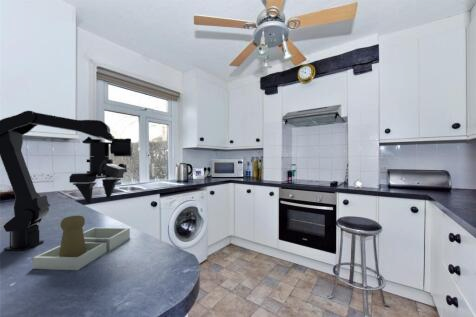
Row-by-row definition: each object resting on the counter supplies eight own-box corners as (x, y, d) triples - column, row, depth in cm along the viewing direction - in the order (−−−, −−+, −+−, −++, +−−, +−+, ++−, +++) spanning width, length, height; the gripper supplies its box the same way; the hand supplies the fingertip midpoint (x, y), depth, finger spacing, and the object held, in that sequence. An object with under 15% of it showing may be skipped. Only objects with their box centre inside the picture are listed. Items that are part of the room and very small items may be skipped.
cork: (70, 263, 52) (70, 220, 52) (52, 260, 53) (52, 218, 54) (92, 252, 58) (92, 214, 58) (75, 250, 59) (75, 213, 59)
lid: (32, 268, 51) (32, 257, 51) (68, 250, 61) (68, 241, 61) (77, 270, 50) (77, 258, 50) (106, 251, 60) (106, 242, 60)
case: (66, 250, 61) (66, 238, 61) (94, 237, 72) (94, 226, 72) (108, 251, 60) (108, 239, 60) (129, 237, 71) (129, 227, 71)
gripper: (101, 156, 63) (101, 206, 62) (136, 156, 81) (136, 195, 81) (67, 156, 63) (67, 206, 63) (109, 157, 82) (109, 195, 82)
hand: (99, 200), depth 72 cm, fingers open, 9 cm apart
